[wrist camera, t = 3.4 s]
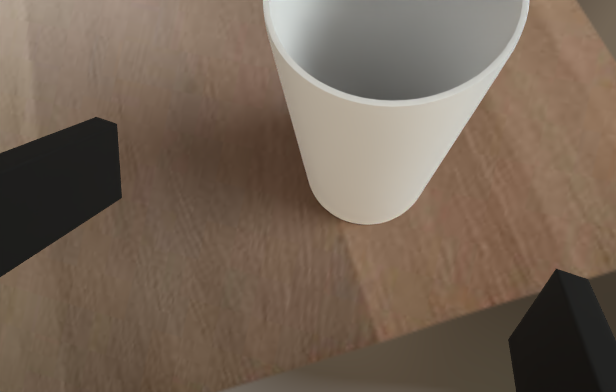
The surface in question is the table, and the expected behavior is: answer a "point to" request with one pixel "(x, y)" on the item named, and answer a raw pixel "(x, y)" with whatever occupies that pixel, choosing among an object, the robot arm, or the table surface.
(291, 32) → the cup
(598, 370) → the robot arm
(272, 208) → the table surface
